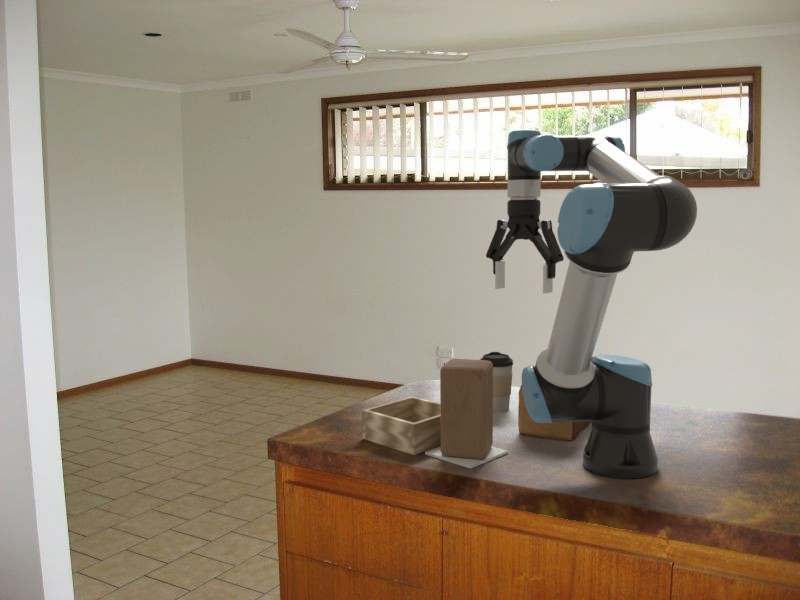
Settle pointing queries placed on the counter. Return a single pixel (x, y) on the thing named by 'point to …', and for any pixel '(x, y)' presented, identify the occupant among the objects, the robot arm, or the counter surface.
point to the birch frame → (404, 425)
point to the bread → (548, 425)
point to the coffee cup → (500, 380)
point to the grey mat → (467, 462)
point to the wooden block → (466, 408)
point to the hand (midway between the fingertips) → (523, 290)
